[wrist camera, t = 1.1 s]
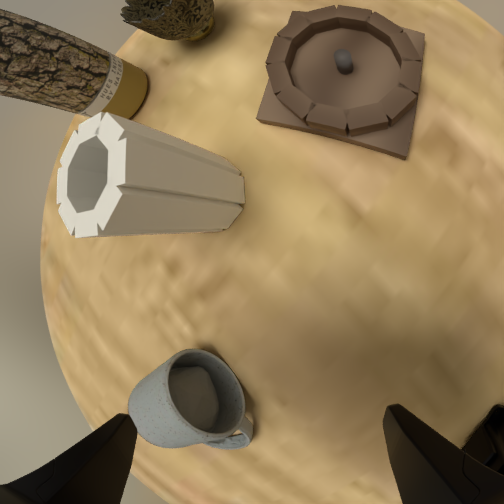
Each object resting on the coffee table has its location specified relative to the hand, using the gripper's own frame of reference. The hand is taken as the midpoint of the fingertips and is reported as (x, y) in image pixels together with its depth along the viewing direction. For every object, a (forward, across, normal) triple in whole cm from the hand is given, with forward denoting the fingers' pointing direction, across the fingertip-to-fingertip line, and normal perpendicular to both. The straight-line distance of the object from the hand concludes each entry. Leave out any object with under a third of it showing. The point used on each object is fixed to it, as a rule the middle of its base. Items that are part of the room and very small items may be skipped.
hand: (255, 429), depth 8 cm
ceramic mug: (+14, +5, +11) cm, 18 cm away
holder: (+15, -8, -15) cm, 22 cm away
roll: (+17, +4, -6) cm, 18 cm away
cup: (+21, +4, -23) cm, 32 cm away
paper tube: (+23, +13, -18) cm, 32 cm away
